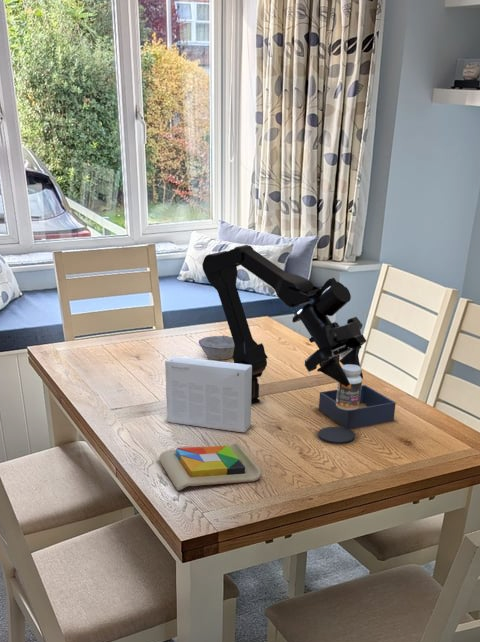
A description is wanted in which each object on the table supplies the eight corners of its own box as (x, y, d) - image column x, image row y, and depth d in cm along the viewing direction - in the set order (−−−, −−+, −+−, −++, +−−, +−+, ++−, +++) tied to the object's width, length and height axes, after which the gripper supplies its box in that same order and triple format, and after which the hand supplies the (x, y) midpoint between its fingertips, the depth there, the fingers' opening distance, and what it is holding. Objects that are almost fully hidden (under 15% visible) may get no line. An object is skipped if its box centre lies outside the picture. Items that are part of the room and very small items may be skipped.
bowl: (197, 350, 241) (197, 335, 239) (237, 349, 242) (237, 334, 240) (200, 363, 230) (199, 347, 227) (241, 362, 231) (241, 346, 229)
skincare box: (252, 425, 188) (253, 364, 180) (245, 433, 183) (245, 371, 176) (174, 414, 194) (172, 354, 186) (166, 422, 189) (163, 361, 181)
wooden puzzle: (263, 480, 162) (263, 466, 160) (178, 494, 156) (178, 479, 154) (236, 448, 176) (236, 434, 174) (157, 459, 170) (157, 445, 169)
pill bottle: (338, 411, 179) (342, 371, 174) (333, 402, 184) (336, 363, 179) (362, 410, 179) (366, 371, 174) (356, 401, 184) (359, 363, 179)
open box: (346, 429, 186) (348, 410, 184) (318, 410, 197) (319, 392, 195) (393, 420, 191) (395, 402, 189) (363, 402, 202) (365, 384, 200)
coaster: (329, 446, 177) (330, 444, 177) (311, 432, 184) (311, 430, 184) (362, 440, 181) (362, 438, 180) (342, 426, 188) (342, 424, 187)
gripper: (318, 315, 166) (356, 374, 165) (363, 300, 178) (398, 355, 178) (288, 342, 174) (324, 399, 174) (333, 326, 187) (366, 378, 186)
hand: (354, 382), depth 178 cm, fingers closed on pill bottle, 5 cm apart
